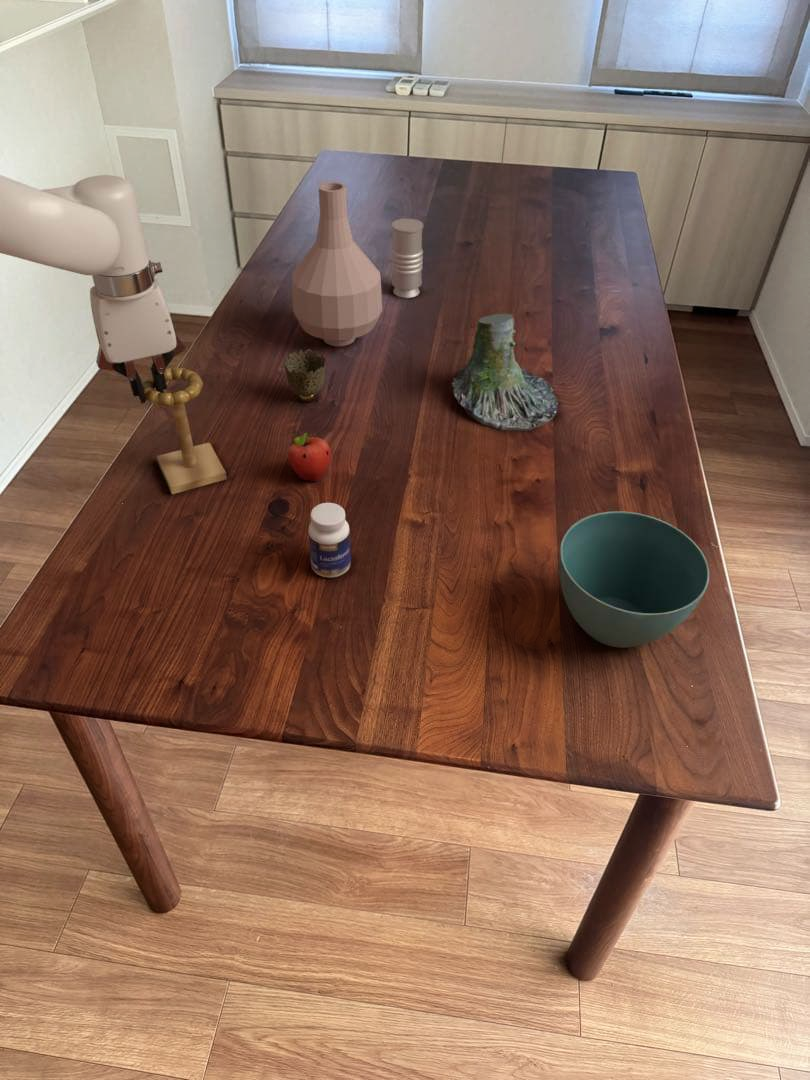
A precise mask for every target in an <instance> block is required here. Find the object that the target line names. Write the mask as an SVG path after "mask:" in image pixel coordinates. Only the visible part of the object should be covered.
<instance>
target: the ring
mask: <svg viewBox="0 0 810 1080" xmlns="http://www.w3.org/2000/svg"><path fill="white" fill-rule="evenodd" d="M164 376H165V380H166V382H170V381H183V382H186V383H188V384H189V385H188V386H187V387H185V388H184V389H182V390H178V391H174V392H164V393H161V392H158V391H156V389H155V384H154V381H153V376H152V373H151V374H149V375H148V376H146V377H145V378H144V380H143V381H142V386H143V390H144V394H145V398H146V401H148V402H150V403H152V404H155V405H158V406H171V405H172V406H173V405H178V404H182V403H184V404H185V403H186V404H187V403H189V402H190V401H192V400H194V399H195V398H197V397H198V396H199V395H200V394H201V391H202V389H203V387H204V382H203V380H202V378H201V377H200V375H199V373H197V372H195V371H193V370H191V369H187V368H185V367H184V368H183V367H169V368H166V371H165V373H164Z"/></svg>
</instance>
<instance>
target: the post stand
mask: <svg viewBox="0 0 810 1080" xmlns="http://www.w3.org/2000/svg"><path fill="white" fill-rule="evenodd" d="M170 406H171V412H172V417H173V420H174V421H173V422H174V425H175V430H176V434H177V435H176V436H177V438H178V444H179V447H180V449H177V450H175V451H171V452H168V453H163V454H159V455H156V456H155V458H156V462H157V465H158V467H159V469H160V471H161V474H162V476H163V478H164V480H165V482H166V485H167V488H168V490H169V492H170V494H171V495H175V494H179V493H182V492H186V491H189V490H193V489H196V488H200V487H204V486H207V485H212V484H215V483H219V482H222V481H225V480H227V479H228V478H227V471H226V470H225V469H224V467H223V464H222V462H221V461H220V459H219V457H218V456H217V453H216V452H215V450H214V448H213V446H212V444H211V442H205V443H202V444H198V445H194V442H193V438H192V433H191V428H190V425H189V424H190V423H189V419H188V414H187V409H186V405H185V403H182V404H178V405H173V406H172V405H170Z"/></svg>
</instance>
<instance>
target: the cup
mask: <svg viewBox="0 0 810 1080" xmlns="http://www.w3.org/2000/svg"><path fill="white" fill-rule="evenodd" d="M287 356H288V357H287ZM287 356H285V357H284V360H282V362H283V365H284V371H285V375H286V379H287V382H288V385H289V387H290V389H291V390H292V391H293V393H294V394H296V396H297V398H298V400H299V401H300V402H303V403H312V402H314V401H316V400H317V398H318V393H319V392H320V391H321V390H322V388H323V387H324V383H325V376H326V364H327V360H326V359H327V358H326V357H325V355H324V354H321V355H317V351H315V350H314V351H312V350H311V349H307V350H306V351H304V352H303V350H302V349H300V350H299V352H298V353H297V352H296V351H293V352H292V353H288V355H287Z"/></svg>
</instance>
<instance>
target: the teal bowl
mask: <svg viewBox="0 0 810 1080" xmlns="http://www.w3.org/2000/svg"><path fill="white" fill-rule="evenodd" d="M558 555H559V556H558V572H559V582H560V588H561V591H562V594H563V597H564V600H565V601H564V602H565V603H566V606H567V608H568V610H569V612H570V613H571V616H572V618H573V619H574V620H575V622H576V623H577V624H578V625H579V626H580V628H581V629H582V630H583V631H584V632H585V633H586V634H588V636H590V637H591V638H592V639H594V640H595V641H597V642H598V643H600V644H603V645H605V646H609V647H613V648H619V649H621V648H622V649H625V648H626V649H627V648H635V647H640V646H644V645H647V644H648V645H649V644H650V643H653V642H656V641H658V640H660V639H661V638H663V637H665V636H667V635H668V634H670V633H672V631H674V630H675V629H677V628H678V627H679V626H680V625H681V624H682V623H684V622H685V620H686V619H687V618H688V617H689V616H690V615H691V614H692V613H693V612H694V610H695V609H696V607H697V606H698V604H699V603H700V601H701V600H702V598H703V596H704V594H705V593H706V590H707V588H708V586H709V582H710V568H709V564H708V561H707V558H706V556H705V554H704V552H703V551H702V550H701V548H700V547H699V546H698V545H697V543H696V542H695V541H694V540H693V539H691V537H689V535H687V534H686V533H685V532H683V531H682V530H681V529H679V528H677V527H676V526H674V525H672V524H671V523H669V522H667V521H664V520H662V519H660V518H657V517H654V516H650V515H647V514H643V513H639V512H633V511H623V510H622V511H620V510H619V511H618V510H617V511H615V510H613V511H605V512H604V511H603V512H598V513H593V514H590V515H587V516H586V517H583V518H581V519H579V520H578V521H576V522H575V523H574V524H572V525H571V526H570V527H569V528H568V530H567V531H566V532H565V533H564V535H563V537H562V540H561V543H560V548H559V554H558Z"/></svg>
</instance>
